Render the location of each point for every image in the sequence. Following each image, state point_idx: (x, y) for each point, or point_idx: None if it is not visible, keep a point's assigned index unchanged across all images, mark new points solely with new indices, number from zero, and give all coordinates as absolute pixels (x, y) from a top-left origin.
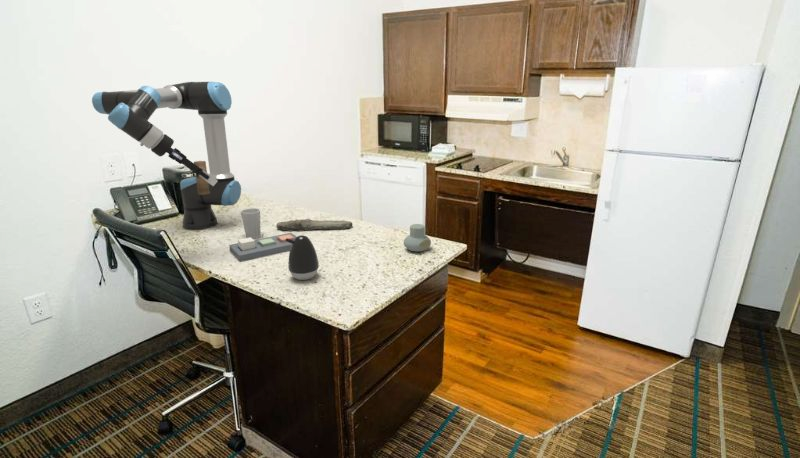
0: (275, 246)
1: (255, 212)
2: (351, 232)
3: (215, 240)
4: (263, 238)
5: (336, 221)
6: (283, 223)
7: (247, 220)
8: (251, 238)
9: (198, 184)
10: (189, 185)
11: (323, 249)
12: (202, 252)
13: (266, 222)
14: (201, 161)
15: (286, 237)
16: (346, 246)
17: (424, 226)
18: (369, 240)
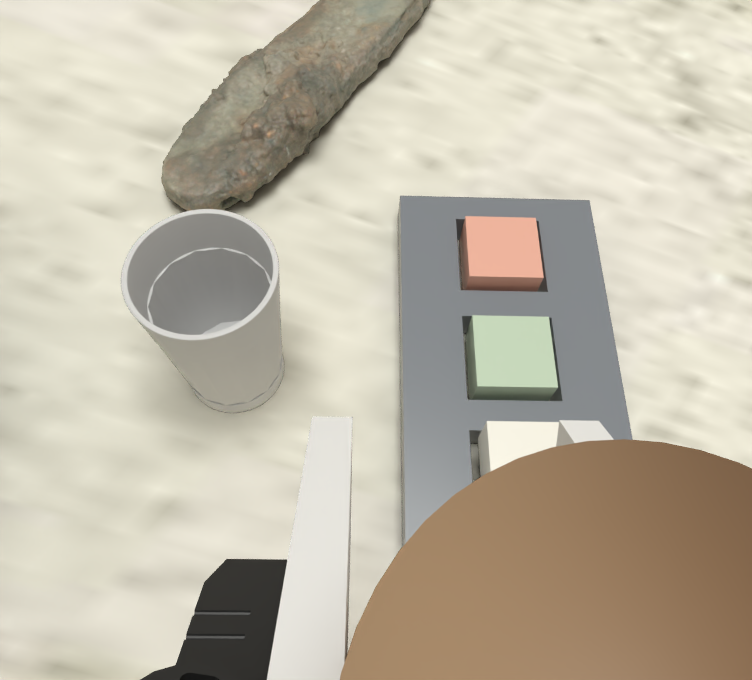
0: (593, 338)
1: (276, 256)
2: (487, 6)
3: (114, 599)
4: (409, 344)
5: None
6: (237, 169)
7: (258, 342)
8: (515, 423)
9: None
10: None
11: (651, 171)
12: None
13: (13, 218)
14: (623, 646)
15: (513, 245)
16: (659, 90)
17: None
18: (630, 4)
